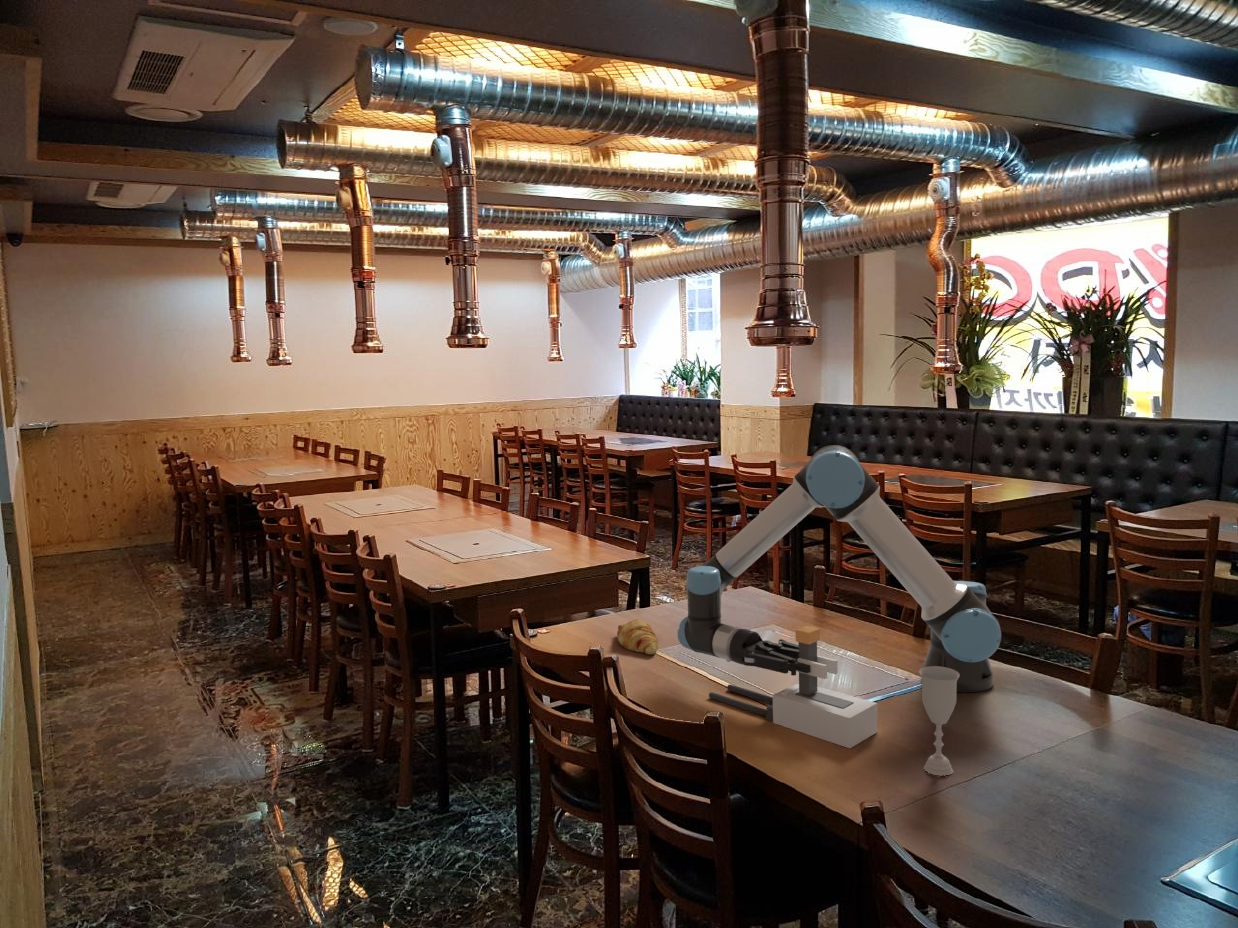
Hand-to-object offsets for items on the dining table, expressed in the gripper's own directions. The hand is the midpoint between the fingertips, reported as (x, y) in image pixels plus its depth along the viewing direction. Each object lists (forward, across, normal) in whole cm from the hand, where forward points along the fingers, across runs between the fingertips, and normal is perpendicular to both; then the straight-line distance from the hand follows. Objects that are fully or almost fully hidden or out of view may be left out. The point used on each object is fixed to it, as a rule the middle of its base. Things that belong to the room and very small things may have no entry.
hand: (831, 669), depth 174 cm
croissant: (-68, -12, -13) cm, 70 cm away
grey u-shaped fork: (-20, 0, -13) cm, 24 cm away
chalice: (+24, +2, -13) cm, 27 cm away
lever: (-5, 0, -6) cm, 8 cm away
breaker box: (-2, 0, -12) cm, 13 cm away
